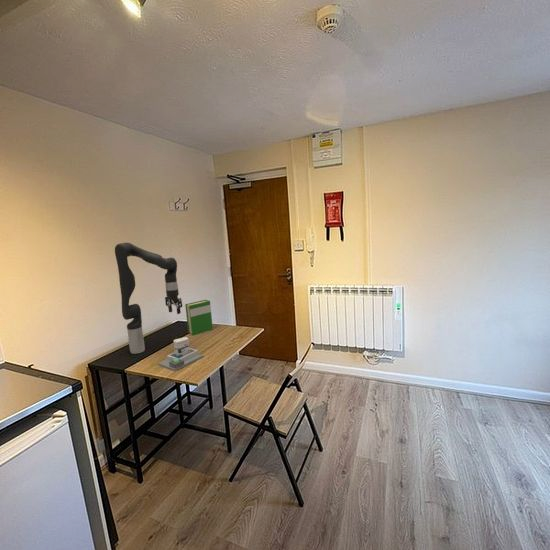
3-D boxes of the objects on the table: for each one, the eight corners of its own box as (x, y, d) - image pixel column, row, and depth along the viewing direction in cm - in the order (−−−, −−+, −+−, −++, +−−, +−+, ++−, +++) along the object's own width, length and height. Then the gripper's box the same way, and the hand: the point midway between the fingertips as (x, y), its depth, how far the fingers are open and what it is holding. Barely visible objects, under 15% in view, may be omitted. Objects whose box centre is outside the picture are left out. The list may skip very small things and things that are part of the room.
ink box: (177, 360, 190) (175, 342, 188) (174, 357, 193) (172, 340, 191) (190, 355, 195) (188, 338, 193) (187, 353, 199) (185, 336, 197)
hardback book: (192, 335, 235) (189, 305, 231) (188, 333, 240) (185, 304, 236) (212, 329, 246) (210, 301, 242) (208, 327, 251) (205, 299, 247)
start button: (172, 365, 182) (172, 359, 181) (177, 362, 184) (176, 357, 184) (176, 366, 180) (175, 360, 179) (180, 364, 182) (180, 358, 182)
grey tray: (157, 365, 187) (157, 358, 186) (186, 351, 204) (186, 346, 204) (175, 371, 177) (174, 365, 176) (203, 356, 195) (203, 351, 194)
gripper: (160, 289, 196) (163, 313, 199) (173, 290, 188) (176, 315, 191) (170, 286, 202) (172, 310, 205) (183, 288, 194) (186, 312, 197)
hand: (174, 312), depth 198 cm, fingers open, 8 cm apart
